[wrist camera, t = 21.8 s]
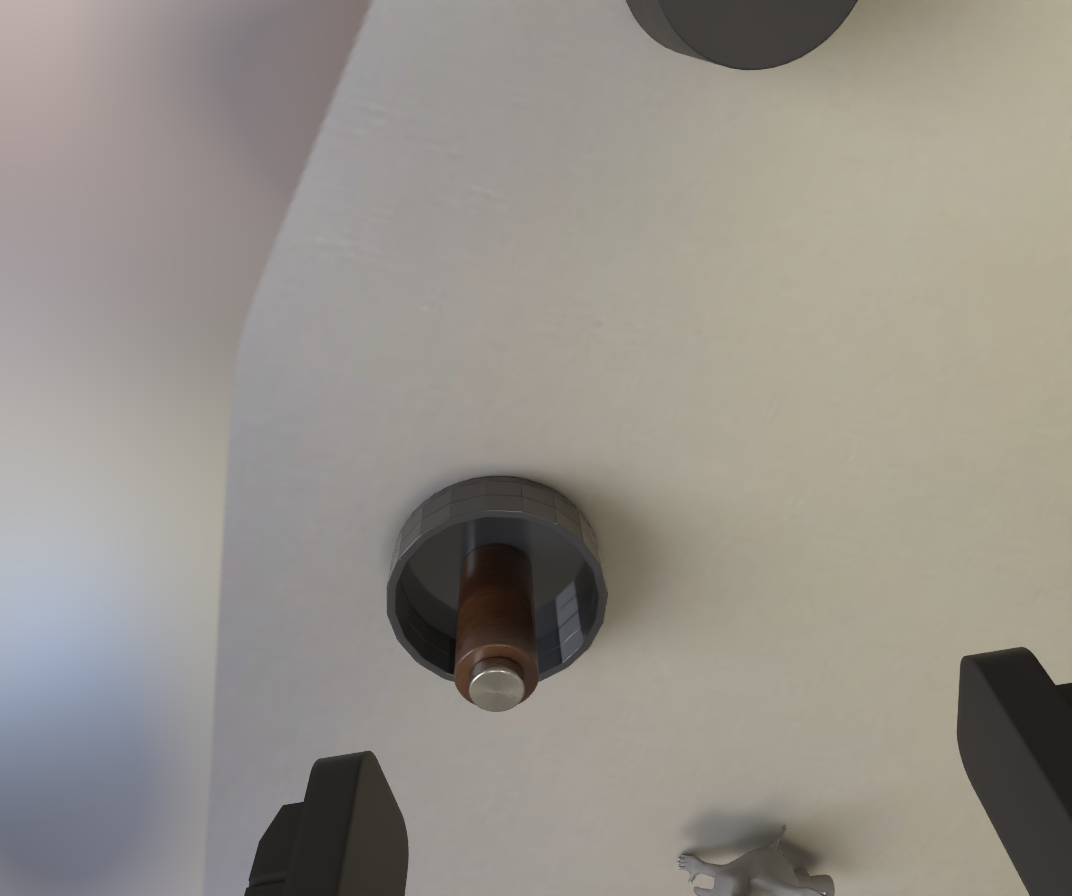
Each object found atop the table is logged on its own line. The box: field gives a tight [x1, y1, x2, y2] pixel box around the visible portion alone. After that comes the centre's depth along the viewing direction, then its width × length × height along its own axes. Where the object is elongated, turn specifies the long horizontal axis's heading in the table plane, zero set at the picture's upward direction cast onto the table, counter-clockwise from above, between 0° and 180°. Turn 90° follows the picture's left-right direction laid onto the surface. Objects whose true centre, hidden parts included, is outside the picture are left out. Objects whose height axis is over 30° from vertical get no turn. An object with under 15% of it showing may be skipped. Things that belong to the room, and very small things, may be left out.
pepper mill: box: [454, 544, 539, 712], centre depth 38 cm, size 3×3×8 cm
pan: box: [387, 476, 608, 682], centre depth 41 cm, size 10×10×3 cm
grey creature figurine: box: [677, 825, 835, 896], centre depth 50 cm, size 10×6×9 cm
